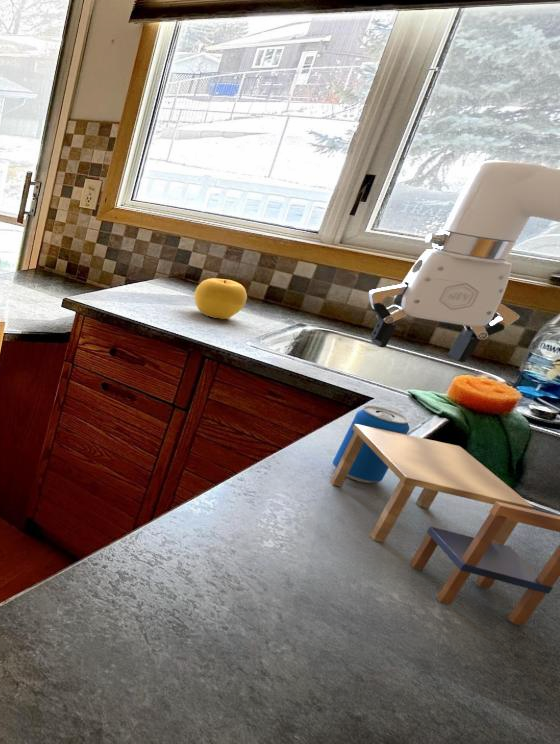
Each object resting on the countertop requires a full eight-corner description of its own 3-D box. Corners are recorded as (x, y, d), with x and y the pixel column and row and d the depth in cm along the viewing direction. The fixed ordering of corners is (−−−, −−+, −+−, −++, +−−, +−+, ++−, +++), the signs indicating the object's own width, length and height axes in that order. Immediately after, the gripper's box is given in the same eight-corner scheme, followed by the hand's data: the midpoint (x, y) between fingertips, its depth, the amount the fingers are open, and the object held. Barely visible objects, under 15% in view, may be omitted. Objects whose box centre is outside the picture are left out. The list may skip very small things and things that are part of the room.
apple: (179, 310, 189) (191, 275, 185) (203, 307, 195) (215, 272, 190) (224, 325, 178) (238, 288, 174) (247, 321, 184) (261, 285, 180)
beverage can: (379, 475, 106) (412, 415, 101) (380, 490, 101) (414, 428, 97) (331, 459, 110) (360, 400, 105) (329, 473, 105) (360, 412, 101)
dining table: (426, 504, 99) (460, 446, 95) (491, 572, 84) (534, 507, 80) (326, 479, 103) (354, 423, 99) (371, 540, 89) (406, 477, 85)
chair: (485, 583, 81) (546, 490, 76) (525, 627, 75) (596, 528, 69) (408, 562, 84) (461, 471, 79) (439, 602, 77) (501, 505, 72)
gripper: (410, 241, 90) (358, 346, 97) (570, 263, 84) (503, 374, 91) (386, 232, 97) (339, 332, 103) (533, 252, 91) (473, 356, 97)
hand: (416, 351), depth 97 cm, fingers open, 9 cm apart
